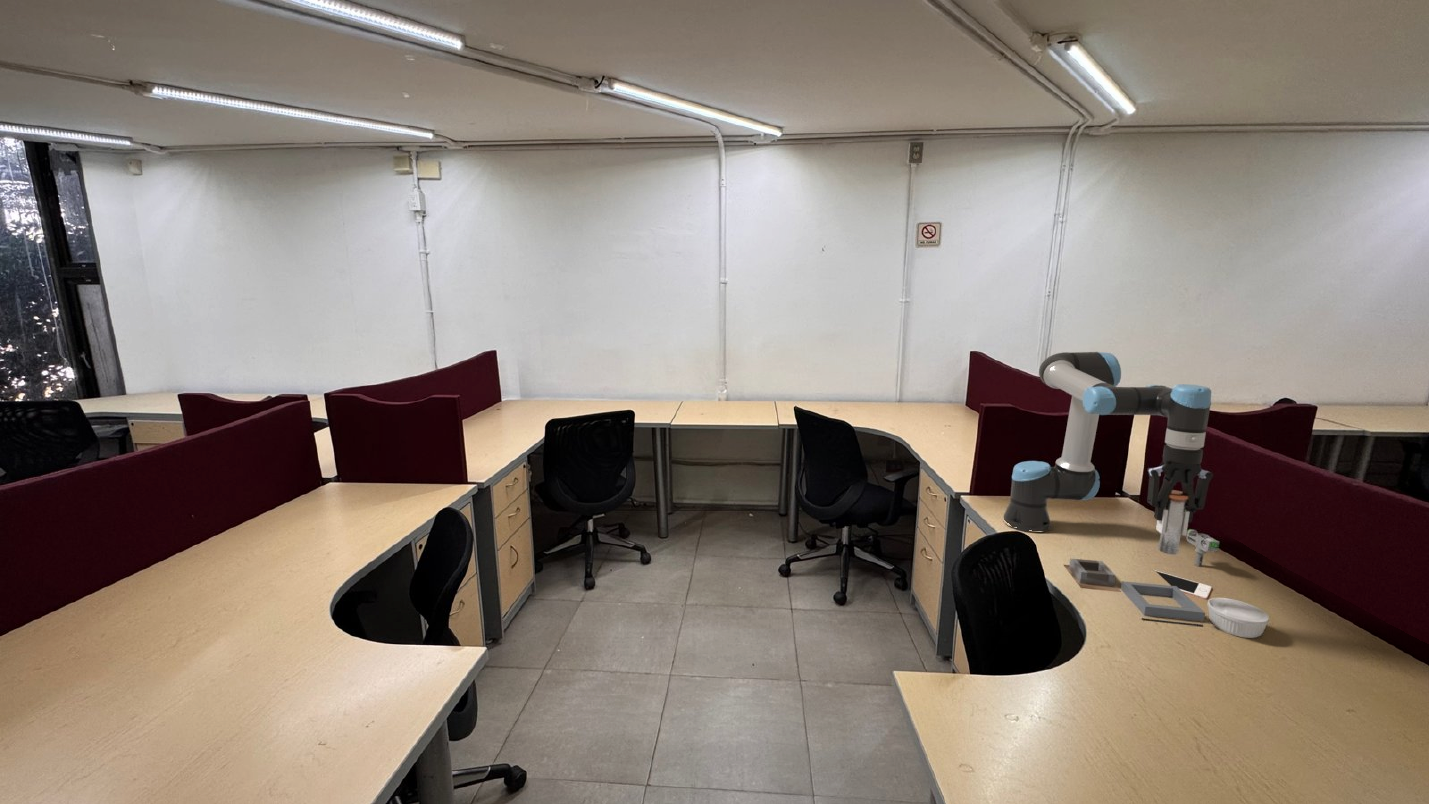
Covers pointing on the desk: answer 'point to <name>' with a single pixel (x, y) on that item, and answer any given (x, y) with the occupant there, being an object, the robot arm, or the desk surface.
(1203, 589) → the cell phone
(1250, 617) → the ramekin
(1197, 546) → the mechanical component
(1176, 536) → the glass jar with lid
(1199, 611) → the tray
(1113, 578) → the block
